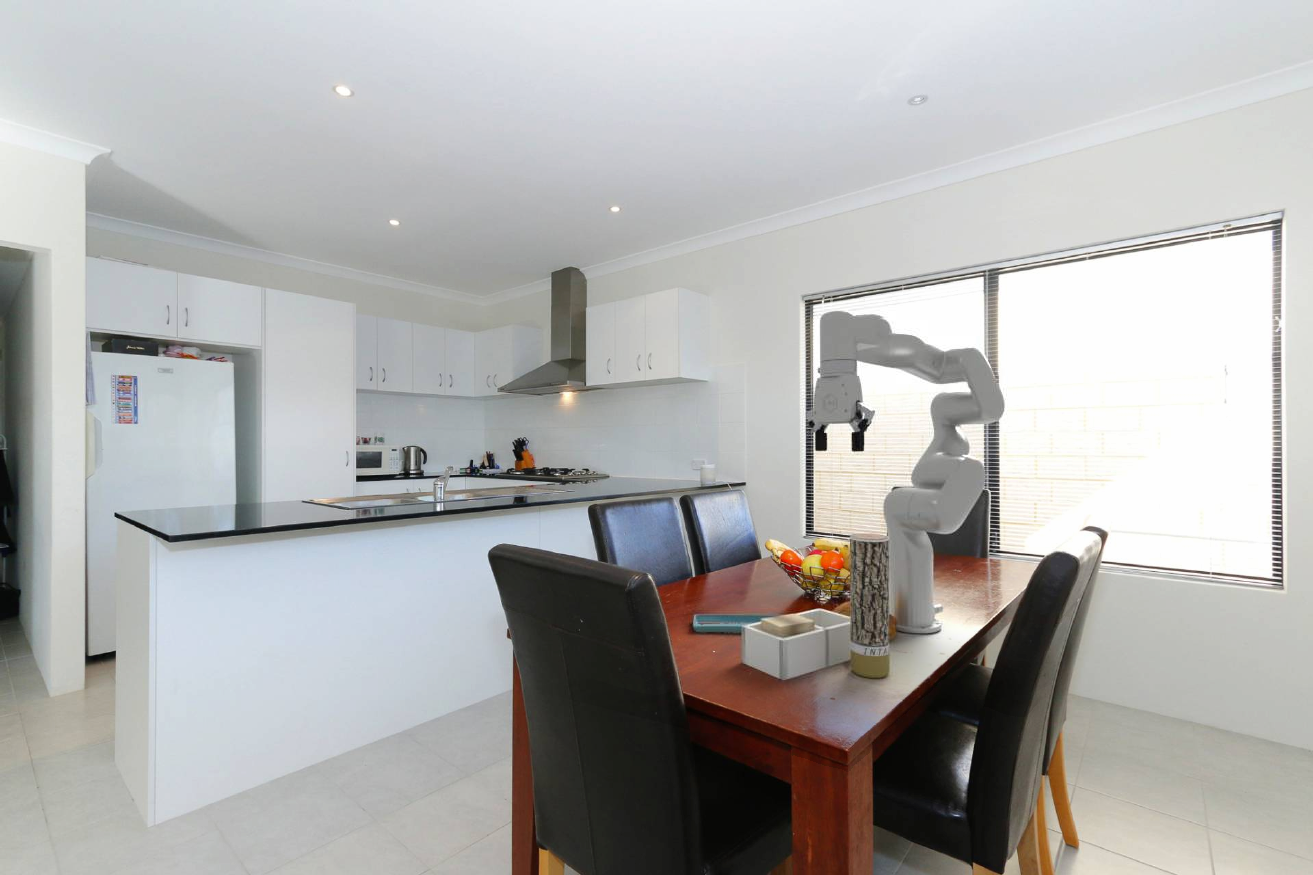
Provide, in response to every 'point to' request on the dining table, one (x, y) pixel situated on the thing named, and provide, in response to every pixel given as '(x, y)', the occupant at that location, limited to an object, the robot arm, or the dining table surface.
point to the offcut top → (787, 625)
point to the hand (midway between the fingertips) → (838, 451)
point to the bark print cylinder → (869, 605)
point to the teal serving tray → (725, 619)
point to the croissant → (845, 610)
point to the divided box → (798, 646)
